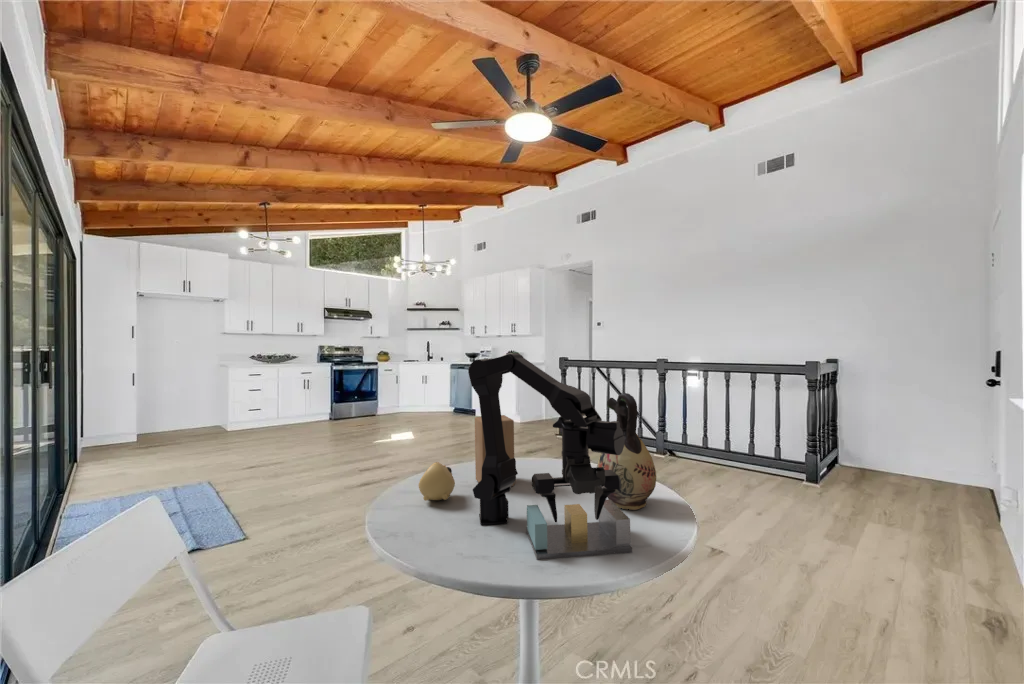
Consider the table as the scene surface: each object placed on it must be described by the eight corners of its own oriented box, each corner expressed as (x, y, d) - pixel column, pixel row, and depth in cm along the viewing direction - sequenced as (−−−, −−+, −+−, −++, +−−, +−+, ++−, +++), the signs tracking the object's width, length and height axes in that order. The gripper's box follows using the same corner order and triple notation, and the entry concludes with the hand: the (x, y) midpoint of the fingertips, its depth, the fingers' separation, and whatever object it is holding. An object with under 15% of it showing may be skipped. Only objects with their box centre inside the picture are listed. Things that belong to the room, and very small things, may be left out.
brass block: (571, 543, 99) (571, 515, 99) (564, 531, 105) (564, 505, 105) (587, 542, 100) (587, 513, 100) (579, 530, 106) (579, 504, 106)
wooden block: (475, 480, 148) (474, 416, 148) (505, 476, 151) (504, 414, 151) (482, 489, 138) (481, 422, 138) (515, 486, 141) (514, 419, 141)
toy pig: (457, 492, 137) (456, 455, 136) (453, 507, 125) (452, 467, 124) (423, 492, 136) (422, 456, 136) (415, 507, 124) (415, 467, 124)
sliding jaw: (535, 549, 96) (535, 524, 96) (527, 528, 107) (526, 505, 107) (547, 549, 96) (547, 523, 96) (537, 527, 107) (537, 504, 107)
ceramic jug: (588, 497, 130) (586, 389, 130) (638, 492, 134) (637, 387, 133) (614, 520, 114) (613, 397, 113) (672, 514, 117) (670, 394, 117)
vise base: (536, 559, 94) (536, 527, 94) (526, 531, 108) (525, 503, 108) (632, 552, 97) (631, 521, 97) (609, 525, 111) (609, 498, 111)
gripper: (539, 460, 93) (541, 539, 93) (630, 456, 95) (631, 532, 96) (530, 447, 104) (531, 517, 104) (611, 444, 107) (612, 512, 107)
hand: (576, 520), depth 102 cm, fingers open, 9 cm apart
